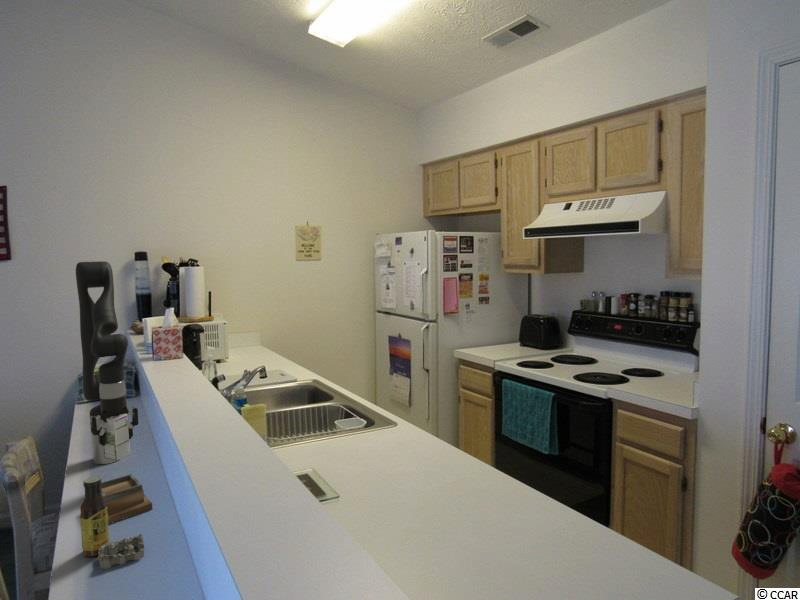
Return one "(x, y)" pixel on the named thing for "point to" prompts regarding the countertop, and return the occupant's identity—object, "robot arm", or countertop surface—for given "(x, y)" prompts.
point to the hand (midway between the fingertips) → (116, 441)
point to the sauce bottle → (93, 518)
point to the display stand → (124, 498)
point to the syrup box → (116, 438)
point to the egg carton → (117, 546)
